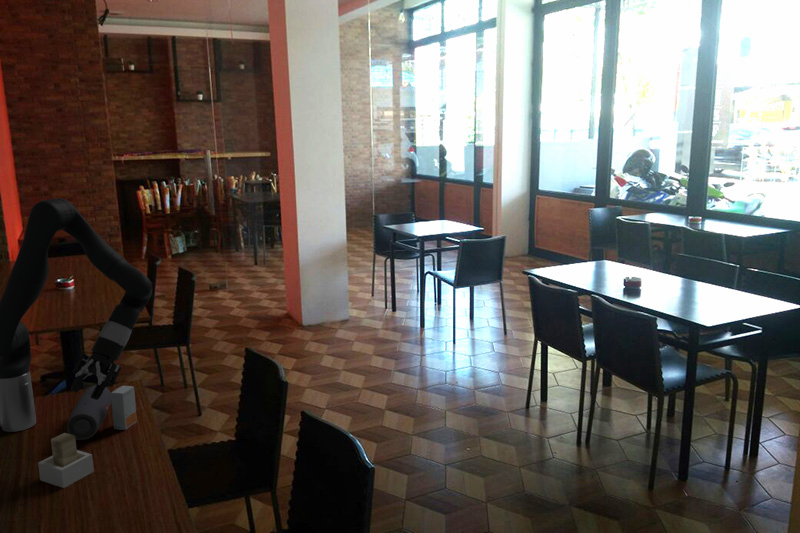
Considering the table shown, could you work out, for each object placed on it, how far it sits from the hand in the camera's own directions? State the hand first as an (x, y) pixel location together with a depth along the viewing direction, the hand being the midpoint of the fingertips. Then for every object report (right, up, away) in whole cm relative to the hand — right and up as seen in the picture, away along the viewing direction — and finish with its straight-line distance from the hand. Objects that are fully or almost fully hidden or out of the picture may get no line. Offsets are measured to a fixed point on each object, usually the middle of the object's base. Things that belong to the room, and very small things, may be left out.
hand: (83, 395), depth 173 cm
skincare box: (+1, -14, +23) cm, 27 cm away
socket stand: (-1, -20, -6) cm, 21 cm away
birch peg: (-1, -19, -6) cm, 20 cm away
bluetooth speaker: (-8, -15, +23) cm, 28 cm away
